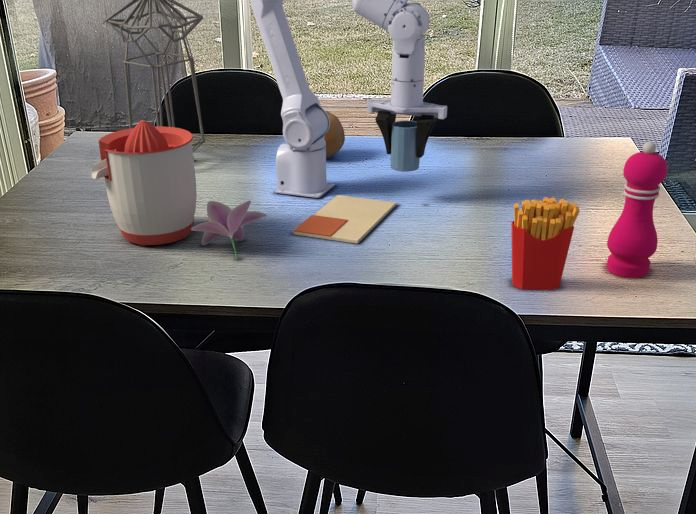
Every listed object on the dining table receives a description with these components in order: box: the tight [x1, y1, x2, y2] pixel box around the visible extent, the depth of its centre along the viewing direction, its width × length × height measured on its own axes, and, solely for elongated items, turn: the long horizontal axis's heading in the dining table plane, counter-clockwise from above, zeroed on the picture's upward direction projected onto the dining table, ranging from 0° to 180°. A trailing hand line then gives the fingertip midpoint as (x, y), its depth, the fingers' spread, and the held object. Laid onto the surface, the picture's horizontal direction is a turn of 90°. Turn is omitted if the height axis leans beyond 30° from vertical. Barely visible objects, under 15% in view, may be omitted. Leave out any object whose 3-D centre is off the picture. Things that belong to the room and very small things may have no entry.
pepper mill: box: [605, 141, 668, 279], centre depth 124 cm, size 7×7×20 cm
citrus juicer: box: [91, 119, 198, 247], centre depth 140 cm, size 16×17×20 cm
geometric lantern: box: [102, 0, 206, 159], centre depth 172 cm, size 16×16×35 cm
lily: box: [190, 200, 267, 260], centre depth 136 cm, size 12×12×10 cm
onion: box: [324, 110, 346, 160], centre depth 180 cm, size 10×10×10 cm
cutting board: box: [292, 194, 397, 245], centre depth 150 cm, size 12×20×1 cm, turn 157°
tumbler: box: [390, 120, 421, 173], centre depth 152 cm, size 5×5×8 cm
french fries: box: [510, 196, 581, 291], centre depth 122 cm, size 9×4×13 cm, turn 85°
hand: (405, 154), depth 153 cm, fingers closed on tumbler, 5 cm apart
